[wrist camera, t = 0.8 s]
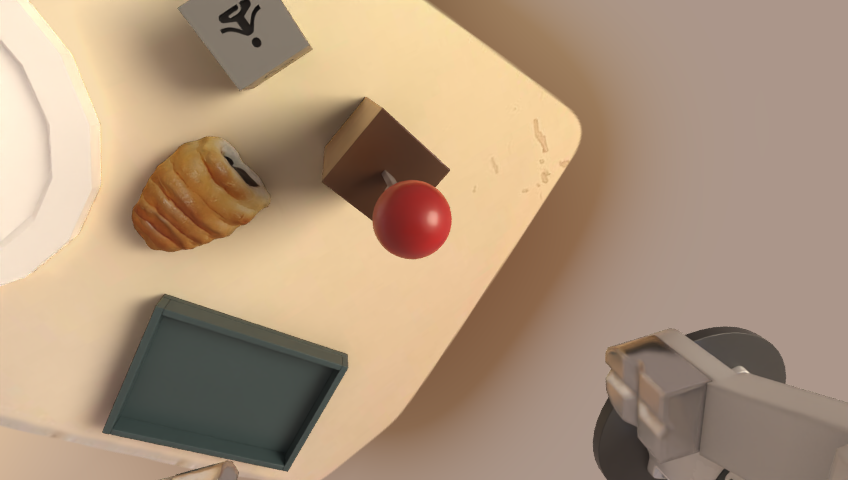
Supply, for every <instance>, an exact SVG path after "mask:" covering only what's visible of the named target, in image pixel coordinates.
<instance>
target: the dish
mask: <svg viewBox="0 0 848 480" xmlns="http://www.w3.org/2000/svg"><path fill="white" fill-rule="evenodd" d="M100 187H101V141H100V122H99V119H98V117H97V115H96V112H95V110H94V107H93V105H92V102H91V100H90V97H89V95H88V92H87V90H86V87H85V85H84V82H83V80H82V78H81V75H80V73H79V70H78V68H77V65H76V63H75V60H74V58H73V55H72V54H71V52H70V51H69V50H68V49H67V47H66V46H65V45H64V44H63V42H62V41H61V40H60V39H59V37H58V36H57V35H56V34H55V32H54V31H53V30H52V29H51V27H50V26H49V25H48V24H47V22H46V21H45V20H44V19H43V17H42V16H41V15H40V14H39V12H38V11H37V10H36V9H35V7H34V6H33V5H32V4H31V2H30V1H29V0H0V286H2V285H5V284H8V283H11V282H14V281H17V280H20V279H23V278H25V277H27V276H28V275H30V274H31V273H33V272H34V271H36V270H37V269H38V268H39V267H40V266H42V265H43V264H44V263H45V262H46V261H48V260H49V259H50V258H51V257H52V256H54V255H55V254H56V253H57V252H58V251H60V250H61V249H62V248H63V247H64V246H66V245H67V244H68V243H69V242H70V241H71V240H73V239H74V238H75V237H76V236H77V235H79V233H80V231H81V228H82V226H83V224H84V222H85V220H86V217H87V215H88V213H89V211H90V209H91V206H92V204H93V202H94V200H95V198H96V195H97V193H98V191H99V189H100Z"/></svg>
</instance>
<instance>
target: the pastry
mask: <svg viewBox="0 0 848 480" xmlns="http://www.w3.org/2000/svg"><path fill="white" fill-rule="evenodd" d="M269 204H270V194H269V193H268V192H267V191H266V189H265V187H264V185H263V182H262V181H261V179H260V178H259V177H258V175H257V174H256V173H255V172H253V171H252V170H251V169H250V168H249V167H248V166H247V165H246V164H244V163H243V162H242V161H241V159H240V155H239V153H238V152H237V150H236V149H235V148H234V147H233V146H232V145H231V144H230V143H229V142H227V141H225V140H224V139H221V138H219V137H212V136H211V137H204V138H202V139H200V140H197V141H192V142H187V143H184V144H183V145H181V146H180V147H179V148H178V149H177V150H176V151H175V152H174V154H173V155H171V156H169V158H168V159H167V160H165V161H164V162H163V163H161V164H160V165H158V166H157V168H156V170H155V172H154V173H153V174H152V175H151V177H150V178H149V180H148V182H147V185H146V186H145V187H144V189H143V190H142V194H141V196H140V199H139V201H138V203H137V204H136V205H135V206H134V207H133V211H132V221H133V224H134V228H135V229H136V230H137V232H138V233H139V234H140V236H141V237H142V238H143V239H144V240H145V242H146V244H147V245H148V247H150V248H151V249H153V250H163V251H167V252H175V251H179V250H182V249H184V250H186V249H193V248H195V247H197V246H200V245H203V244H206V243H209V242H211V241H212V240H214V239H217V238H223V237H226V236H229V235H230V234H232V233H233V231H234V230H235V229H236V228H237V227H239V226H240V225H245V224H247V223H249V222H250V221H251V220H252V219H253V218H254V216H255V215H256V214H257V213H258V212H259V211H260V210H261V209H263V208H265V207H268V206H269Z"/></svg>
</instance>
